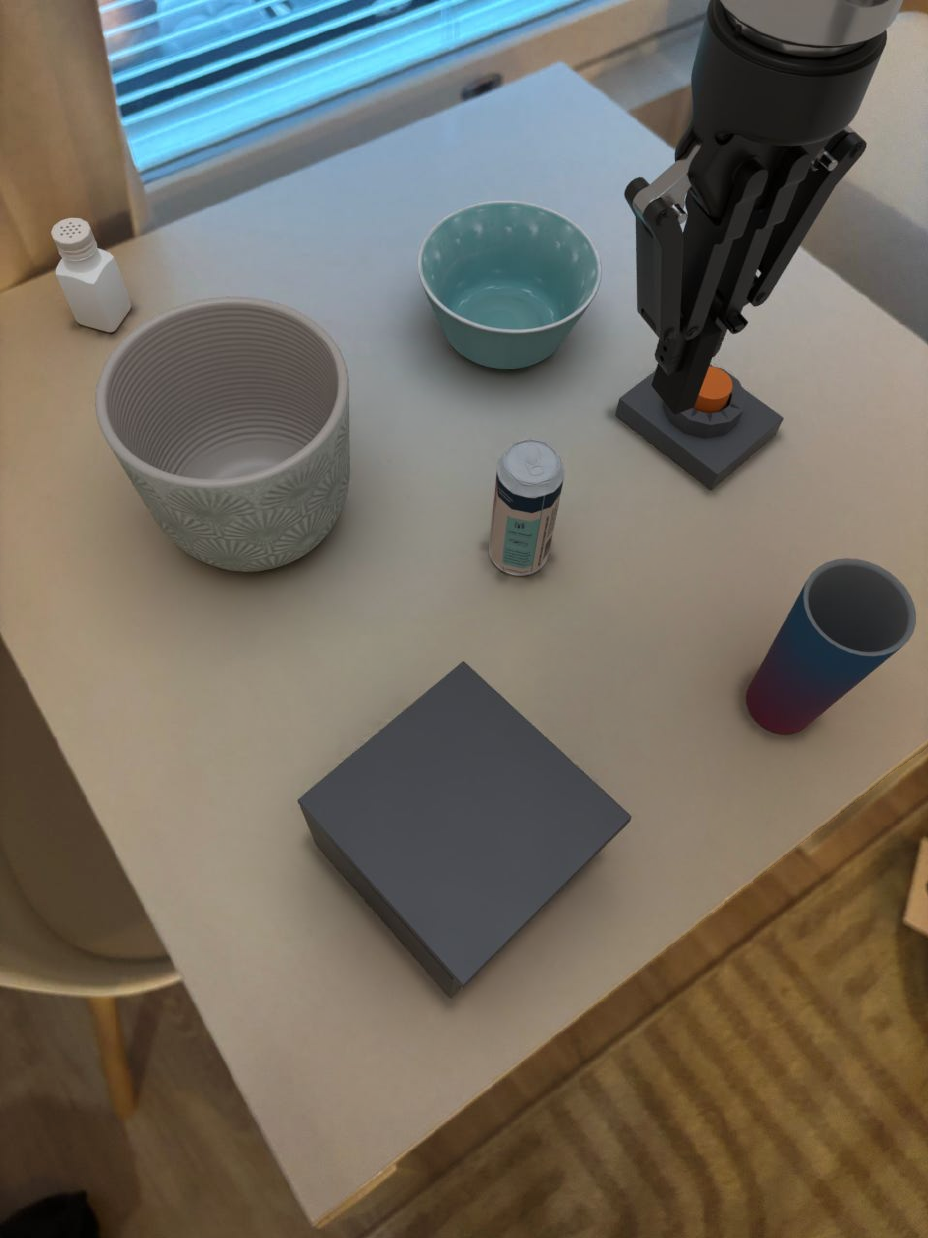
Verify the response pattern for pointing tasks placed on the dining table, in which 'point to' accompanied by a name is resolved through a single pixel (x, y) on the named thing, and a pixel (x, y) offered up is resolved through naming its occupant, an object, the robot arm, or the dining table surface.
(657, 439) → the control block
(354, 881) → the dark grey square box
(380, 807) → the dark grey square slab
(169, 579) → the dining table surface
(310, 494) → the planter
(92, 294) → the pepper shaker
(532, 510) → the beer can
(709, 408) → the button
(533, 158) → the dining table surface
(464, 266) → the bowl
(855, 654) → the cup
